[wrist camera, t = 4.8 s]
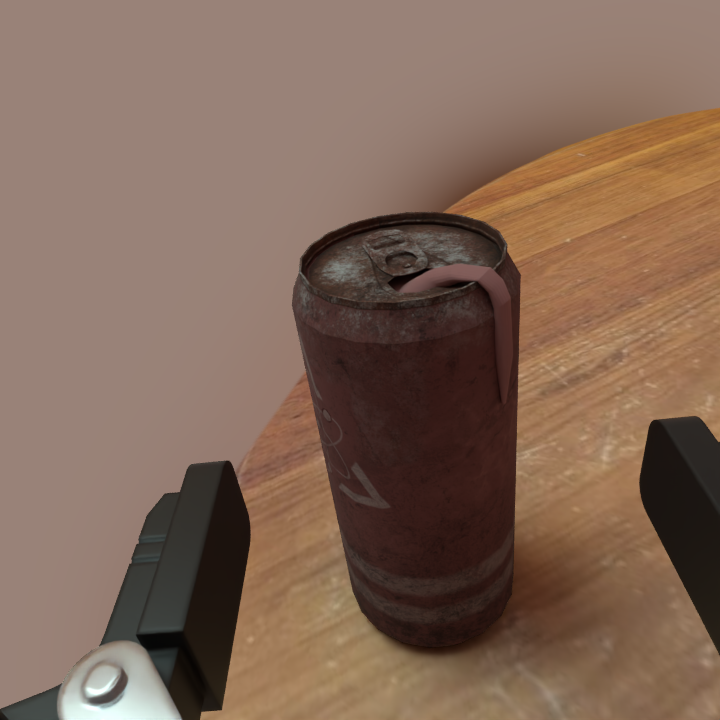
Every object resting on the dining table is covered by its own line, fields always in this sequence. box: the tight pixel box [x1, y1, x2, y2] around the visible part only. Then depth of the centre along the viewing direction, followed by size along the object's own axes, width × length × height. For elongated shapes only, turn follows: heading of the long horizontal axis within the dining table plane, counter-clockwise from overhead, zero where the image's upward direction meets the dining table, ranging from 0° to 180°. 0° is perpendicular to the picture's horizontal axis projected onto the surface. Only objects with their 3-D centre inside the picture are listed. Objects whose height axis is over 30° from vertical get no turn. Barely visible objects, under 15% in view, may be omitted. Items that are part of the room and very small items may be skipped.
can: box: [292, 212, 521, 647], centre depth 20 cm, size 6×6×14 cm
